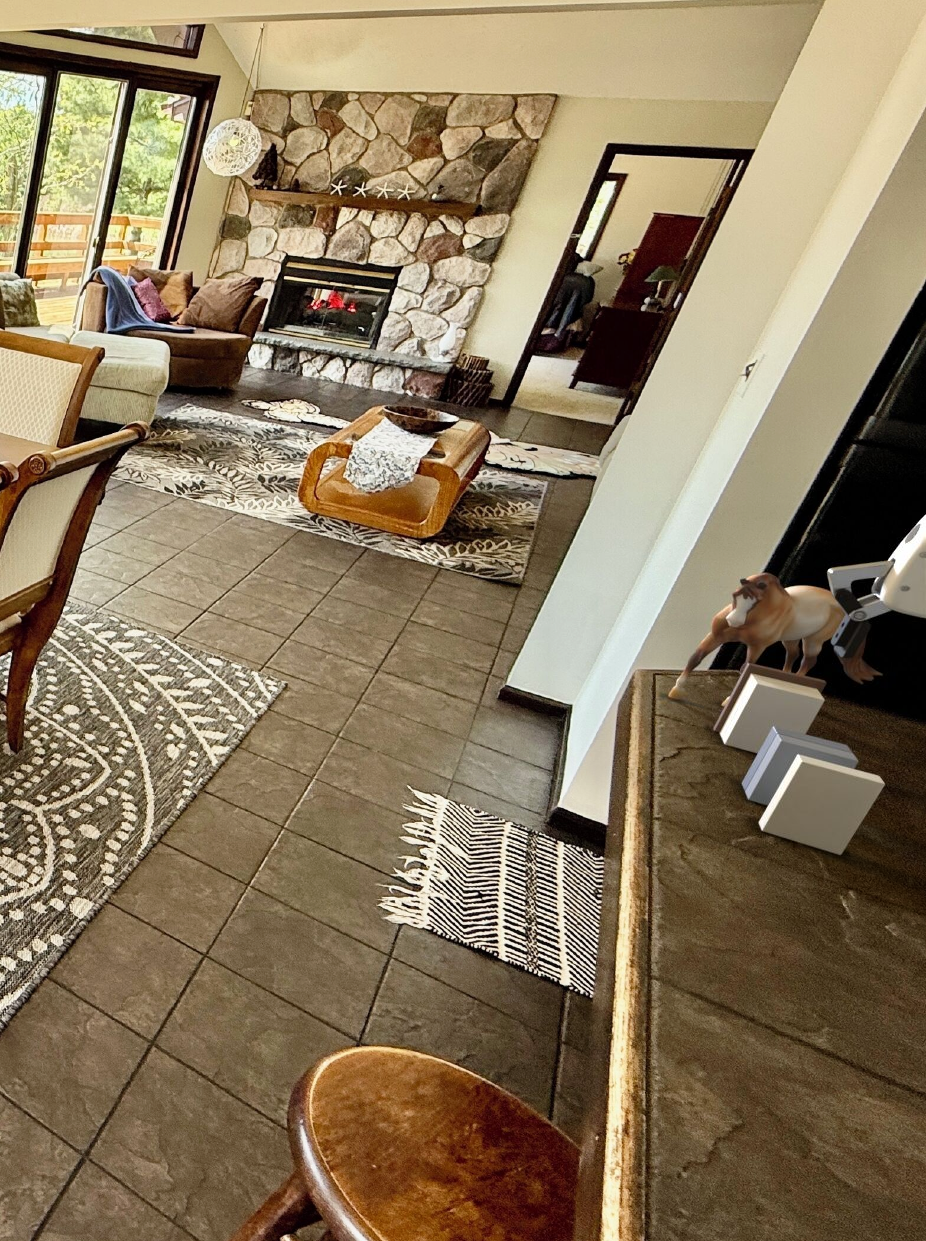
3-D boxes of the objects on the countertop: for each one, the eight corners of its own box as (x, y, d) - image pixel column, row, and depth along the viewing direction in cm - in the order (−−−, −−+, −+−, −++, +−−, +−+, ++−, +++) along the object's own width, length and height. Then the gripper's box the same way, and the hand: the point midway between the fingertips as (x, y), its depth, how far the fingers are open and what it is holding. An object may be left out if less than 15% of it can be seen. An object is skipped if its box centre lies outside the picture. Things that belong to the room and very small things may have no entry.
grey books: (812, 804, 102) (847, 745, 99) (822, 821, 99) (859, 761, 96) (741, 783, 105) (772, 725, 102) (748, 800, 102) (781, 740, 99)
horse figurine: (690, 718, 120) (761, 579, 113) (631, 691, 127) (694, 558, 120) (863, 710, 126) (942, 577, 118) (797, 684, 133) (868, 557, 125)
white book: (836, 846, 94) (879, 775, 91) (841, 855, 93) (885, 784, 90) (758, 822, 98) (797, 753, 94) (761, 831, 96) (801, 761, 93)
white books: (786, 748, 114) (824, 680, 110) (795, 764, 111) (835, 694, 107) (712, 728, 118) (747, 662, 114) (719, 743, 114) (755, 675, 111)
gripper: (888, 493, 84) (798, 654, 90) (1189, 539, 74) (1065, 714, 81) (864, 479, 89) (781, 631, 96) (1141, 520, 80) (1028, 685, 86)
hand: (911, 669), depth 88 cm, fingers open, 9 cm apart
